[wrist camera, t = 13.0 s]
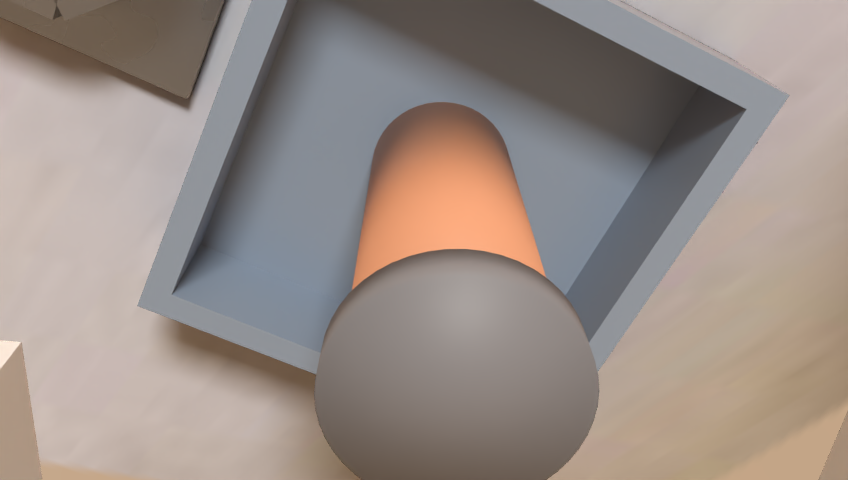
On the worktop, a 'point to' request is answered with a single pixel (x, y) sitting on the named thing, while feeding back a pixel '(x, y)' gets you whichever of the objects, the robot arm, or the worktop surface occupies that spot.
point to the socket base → (128, 34)
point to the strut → (452, 320)
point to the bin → (475, 88)
